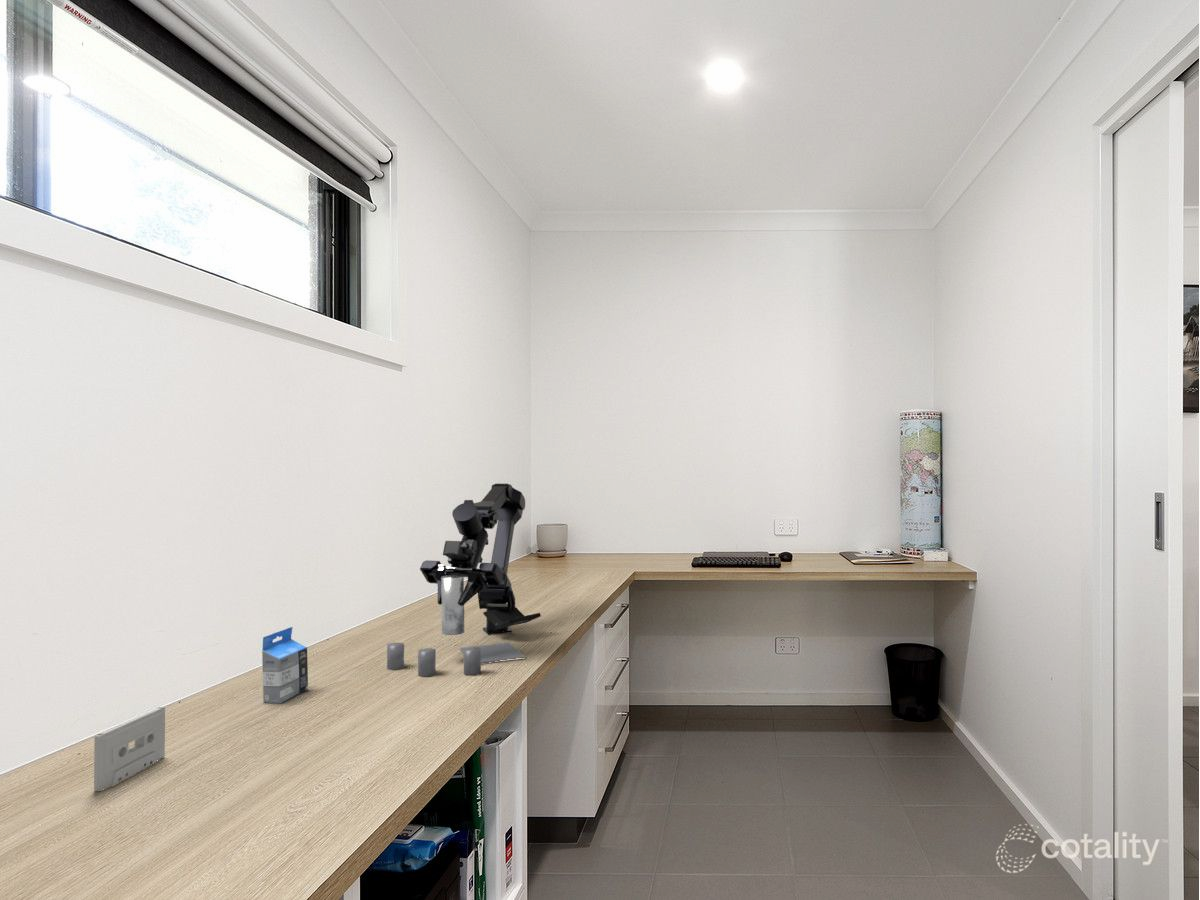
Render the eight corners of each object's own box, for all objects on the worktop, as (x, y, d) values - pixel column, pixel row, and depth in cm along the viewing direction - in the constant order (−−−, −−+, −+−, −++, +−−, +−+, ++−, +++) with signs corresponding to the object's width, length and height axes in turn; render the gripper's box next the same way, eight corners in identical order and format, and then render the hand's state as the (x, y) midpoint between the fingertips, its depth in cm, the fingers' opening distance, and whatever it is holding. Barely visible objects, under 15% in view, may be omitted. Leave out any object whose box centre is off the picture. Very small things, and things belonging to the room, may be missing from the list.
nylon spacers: (392, 664, 160) (392, 642, 160) (483, 671, 155) (483, 647, 155) (376, 673, 153) (376, 649, 154) (470, 680, 148) (470, 655, 148)
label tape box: (280, 704, 134) (280, 637, 134) (261, 703, 135) (261, 636, 135) (308, 689, 142) (309, 627, 143) (290, 688, 143) (290, 626, 143)
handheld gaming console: (509, 634, 178) (510, 620, 178) (481, 625, 185) (482, 612, 185) (541, 626, 187) (541, 612, 187) (513, 618, 194) (513, 605, 194)
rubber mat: (460, 649, 173) (460, 647, 173) (508, 644, 177) (508, 642, 177) (473, 664, 160) (473, 662, 160) (525, 659, 164) (525, 656, 164)
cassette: (157, 756, 110) (157, 706, 110) (168, 757, 110) (168, 706, 110) (90, 792, 98) (90, 735, 98) (102, 793, 98) (102, 736, 98)
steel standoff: (440, 631, 164) (439, 575, 164) (462, 628, 166) (461, 574, 166) (443, 636, 159) (442, 579, 159) (466, 633, 161) (465, 577, 161)
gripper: (423, 525, 169) (398, 581, 158) (498, 527, 164) (477, 585, 153) (439, 555, 176) (417, 609, 166) (511, 557, 171) (492, 614, 161)
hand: (449, 604), depth 161 cm, fingers closed on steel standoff, 5 cm apart
